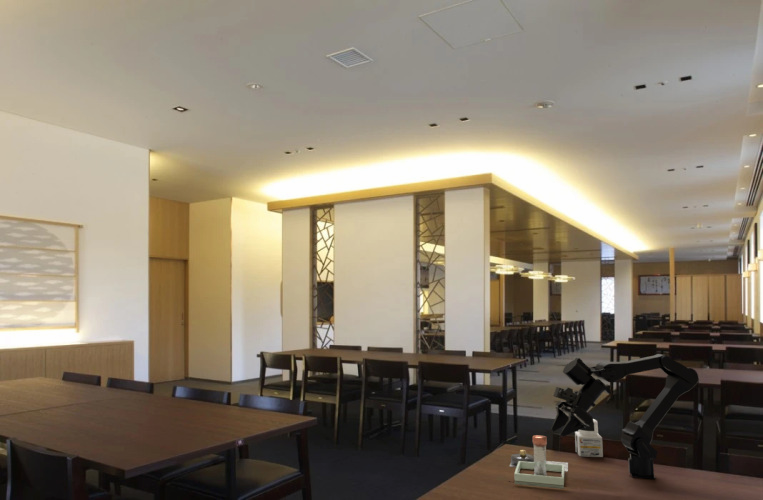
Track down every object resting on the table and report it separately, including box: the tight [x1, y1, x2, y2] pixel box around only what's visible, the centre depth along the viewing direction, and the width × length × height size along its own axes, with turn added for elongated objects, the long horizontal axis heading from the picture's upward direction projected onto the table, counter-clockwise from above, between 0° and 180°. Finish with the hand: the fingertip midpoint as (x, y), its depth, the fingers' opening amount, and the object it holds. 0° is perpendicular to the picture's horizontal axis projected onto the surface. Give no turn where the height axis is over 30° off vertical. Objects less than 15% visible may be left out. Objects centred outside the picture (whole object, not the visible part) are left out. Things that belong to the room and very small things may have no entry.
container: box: [574, 418, 604, 458], centre depth 191 cm, size 8×8×13 cm
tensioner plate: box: [509, 449, 569, 472], centre depth 178 cm, size 18×10×5 cm, turn 71°
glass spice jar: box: [532, 434, 548, 476], centre depth 166 cm, size 4×4×12 cm
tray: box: [513, 461, 565, 490], centre depth 165 cm, size 14×14×3 cm
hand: (556, 433), depth 168 cm, fingers open, 9 cm apart
